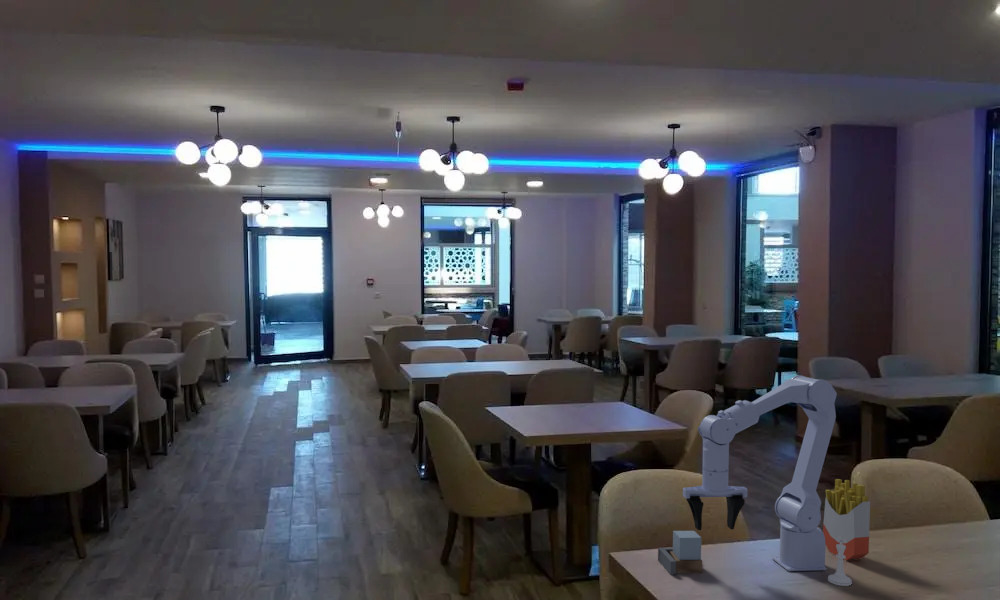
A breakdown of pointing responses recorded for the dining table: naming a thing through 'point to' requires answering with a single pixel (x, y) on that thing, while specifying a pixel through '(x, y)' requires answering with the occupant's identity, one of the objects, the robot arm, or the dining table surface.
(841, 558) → the chess piece
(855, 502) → the french fries container
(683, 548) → the blue-grey cube
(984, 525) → the dining table surface
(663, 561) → the corner jig
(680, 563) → the walnut block
